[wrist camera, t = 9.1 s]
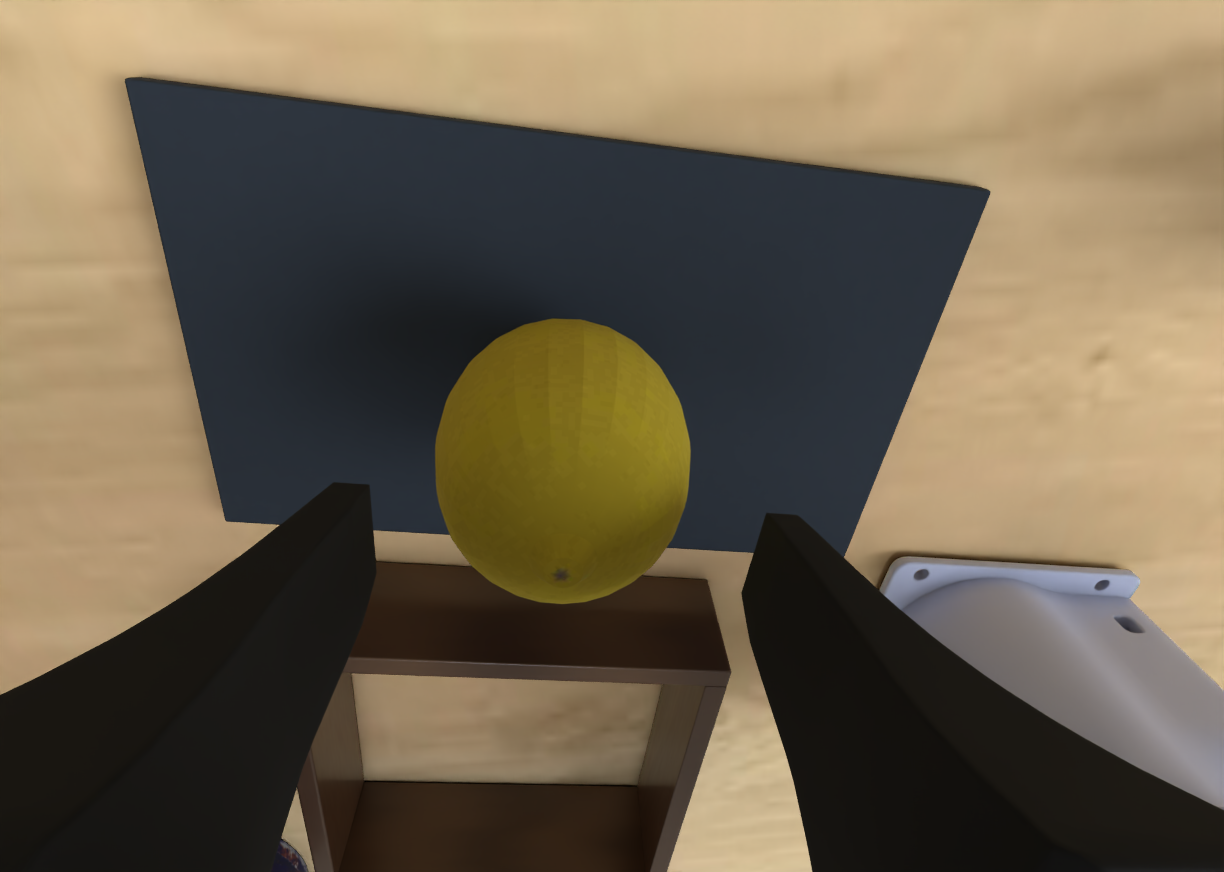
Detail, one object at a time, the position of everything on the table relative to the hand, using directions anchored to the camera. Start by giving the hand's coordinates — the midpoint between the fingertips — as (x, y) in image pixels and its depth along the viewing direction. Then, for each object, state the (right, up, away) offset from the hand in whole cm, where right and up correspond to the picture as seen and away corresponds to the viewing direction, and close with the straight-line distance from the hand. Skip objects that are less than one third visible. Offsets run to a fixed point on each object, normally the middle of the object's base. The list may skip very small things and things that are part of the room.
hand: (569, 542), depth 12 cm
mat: (-1, +4, +6) cm, 8 cm away
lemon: (-1, +4, +6) cm, 7 cm away
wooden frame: (-3, -8, +14) cm, 16 cm away
